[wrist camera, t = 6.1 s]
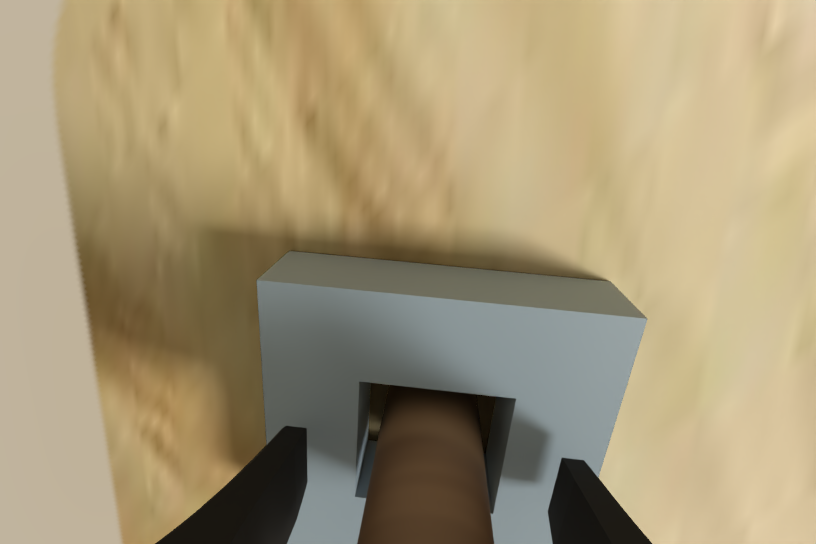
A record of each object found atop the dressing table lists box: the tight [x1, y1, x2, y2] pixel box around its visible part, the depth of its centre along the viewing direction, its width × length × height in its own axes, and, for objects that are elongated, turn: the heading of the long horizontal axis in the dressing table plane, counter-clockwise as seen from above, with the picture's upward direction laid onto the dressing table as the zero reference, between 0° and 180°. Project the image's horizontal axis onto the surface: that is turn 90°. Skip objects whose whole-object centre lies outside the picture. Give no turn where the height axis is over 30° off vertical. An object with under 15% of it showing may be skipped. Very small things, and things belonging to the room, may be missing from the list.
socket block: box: [257, 251, 647, 544], centre depth 14 cm, size 10×10×2 cm
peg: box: [357, 385, 494, 544], centre depth 12 cm, size 3×3×7 cm
